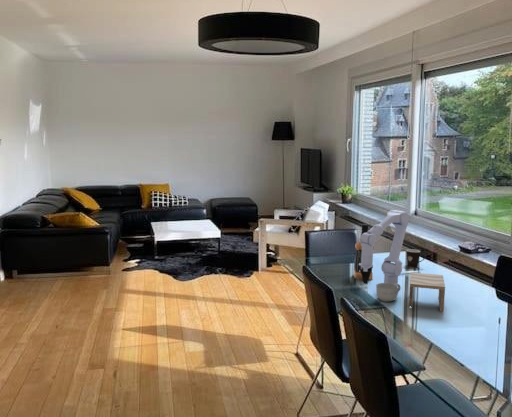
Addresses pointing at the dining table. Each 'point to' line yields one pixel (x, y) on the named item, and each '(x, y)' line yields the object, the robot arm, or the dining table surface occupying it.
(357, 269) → the whiskey bottle
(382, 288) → the teacup
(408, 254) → the coffee mug
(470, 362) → the dining table surface
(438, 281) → the wooden step stool
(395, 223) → the robot arm
